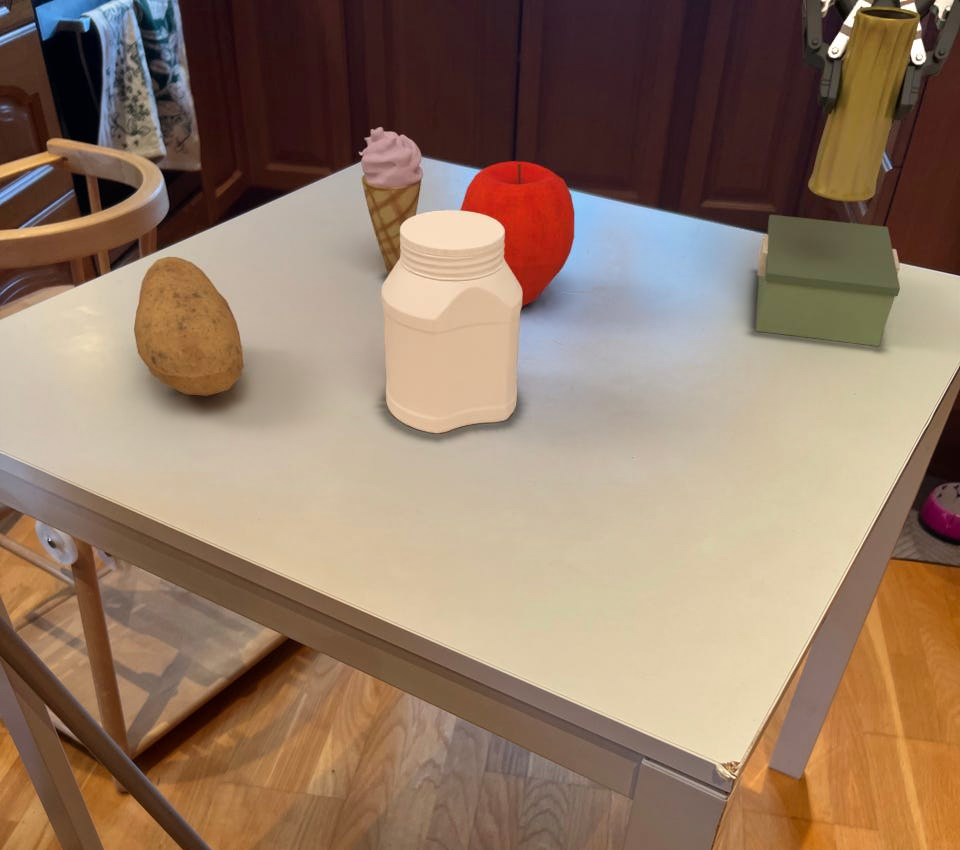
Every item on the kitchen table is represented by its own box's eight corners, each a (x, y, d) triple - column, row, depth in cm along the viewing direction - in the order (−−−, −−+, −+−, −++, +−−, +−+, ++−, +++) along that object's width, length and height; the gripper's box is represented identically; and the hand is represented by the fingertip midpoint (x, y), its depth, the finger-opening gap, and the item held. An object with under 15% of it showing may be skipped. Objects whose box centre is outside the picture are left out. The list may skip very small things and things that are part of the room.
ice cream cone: (352, 272, 106) (342, 122, 96) (395, 257, 109) (390, 111, 99) (392, 291, 102) (386, 138, 92) (435, 276, 106) (434, 125, 95)
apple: (590, 314, 100) (605, 177, 90) (487, 334, 96) (492, 192, 87) (536, 271, 107) (545, 141, 98) (439, 288, 103) (438, 153, 94)
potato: (152, 432, 81) (127, 326, 74) (141, 349, 92) (119, 250, 85) (256, 419, 83) (241, 314, 77) (234, 339, 94) (218, 241, 87)
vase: (867, 181, 93) (917, 6, 83) (880, 204, 88) (934, 22, 79) (803, 178, 93) (844, 3, 83) (813, 200, 89) (858, 18, 79)
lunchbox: (875, 282, 107) (892, 227, 103) (886, 348, 96) (905, 288, 91) (753, 268, 109) (765, 213, 105) (748, 331, 98) (761, 272, 94)
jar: (490, 366, 91) (496, 200, 80) (532, 415, 84) (545, 242, 74) (372, 386, 87) (363, 215, 77) (407, 439, 81) (402, 261, 71)
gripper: (821, -116, 82) (788, 78, 82) (1000, -106, 80) (966, 93, 80) (805, -50, 90) (773, 129, 89) (967, -39, 87) (936, 143, 87)
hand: (864, 111), depth 84 cm, fingers closed on vase, 5 cm apart
